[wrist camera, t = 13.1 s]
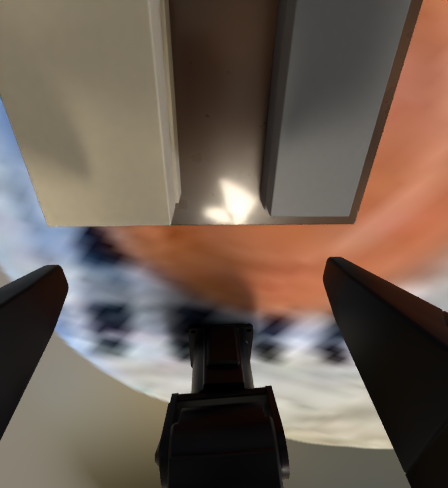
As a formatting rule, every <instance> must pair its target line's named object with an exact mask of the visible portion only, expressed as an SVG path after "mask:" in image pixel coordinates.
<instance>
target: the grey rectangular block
mask: <svg viewBox="0 0 448 488" xmlns="http://www.w3.org/2000/svg"><path fill="white" fill-rule="evenodd" d="M410 2H411V0H279V6H278V16H277V27H276V37H275V48H274V58H273V69H272V79H271V89H270V100H269V110H268V121H267V131H266V142H265V152H264V163H263V173H262V184H261V194H260V201H261V203H262V205H263V208H264V210H268V212H269V215H270V216H271V217H322V216H349V214H350V210H351V207H352V204H353V200H354V197H355V193H356V190H357V186H358V183H359V179H360V176H361V172H362V169H363V165H364V162H365V158H366V155H367V152H368V148H369V145H370V141H371V138H372V134H373V131H374V127H375V124H376V120H377V117H378V113H379V110H380V106H381V103H382V100H383V96H384V93H385V89H386V86H387V82H388V79H389V75H390V72H391V68H392V65H393V61H394V58H395V54H396V51H397V48H398V44H399V41H400V37H401V34H402V30H403V27H404V23H405V20H406V16H407V13H408V9H409V6H410Z"/></svg>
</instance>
